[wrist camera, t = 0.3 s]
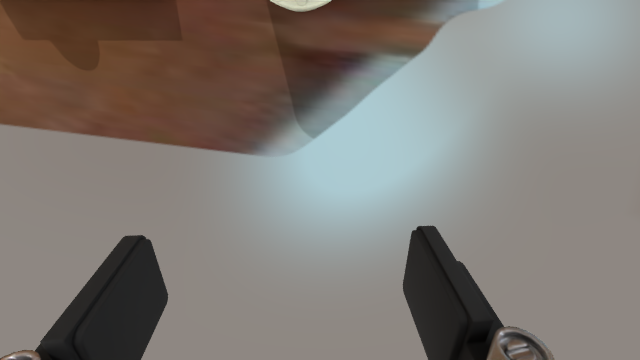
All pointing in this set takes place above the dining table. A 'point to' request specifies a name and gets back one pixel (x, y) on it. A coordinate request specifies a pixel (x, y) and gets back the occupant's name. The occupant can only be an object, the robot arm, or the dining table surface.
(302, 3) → the can
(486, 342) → the robot arm
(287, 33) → the dining table surface
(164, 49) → the dining table surface
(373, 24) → the dining table surface
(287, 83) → the dining table surface
